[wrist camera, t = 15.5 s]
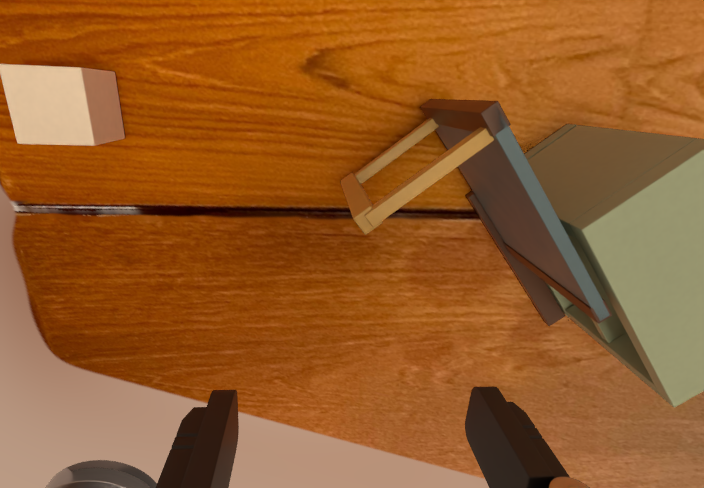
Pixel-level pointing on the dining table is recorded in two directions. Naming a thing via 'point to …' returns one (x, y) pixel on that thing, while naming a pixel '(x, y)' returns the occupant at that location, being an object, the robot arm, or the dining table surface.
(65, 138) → the block
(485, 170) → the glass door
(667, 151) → the cabinet
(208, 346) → the dining table surface
